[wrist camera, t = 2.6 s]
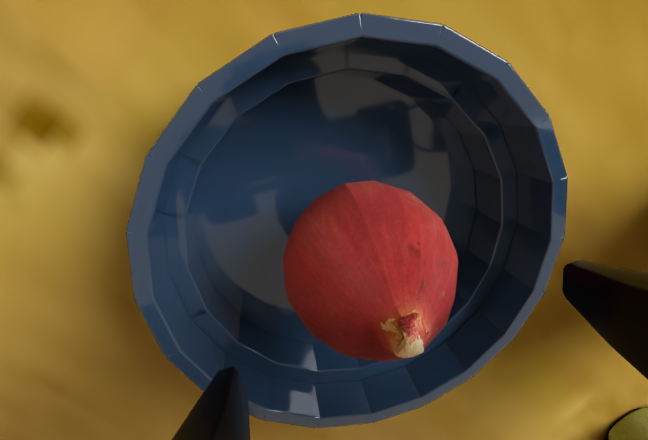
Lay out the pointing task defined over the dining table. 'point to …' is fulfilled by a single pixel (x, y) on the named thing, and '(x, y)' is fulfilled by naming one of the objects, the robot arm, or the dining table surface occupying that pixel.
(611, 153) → the dining table surface
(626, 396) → the dining table surface
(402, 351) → the onion
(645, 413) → the plant pot
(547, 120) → the bowl
